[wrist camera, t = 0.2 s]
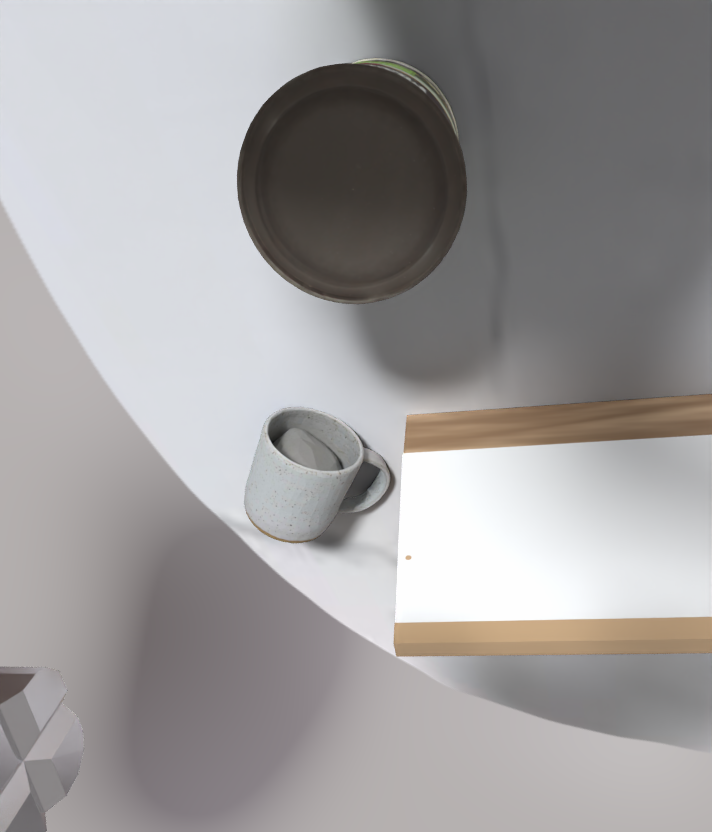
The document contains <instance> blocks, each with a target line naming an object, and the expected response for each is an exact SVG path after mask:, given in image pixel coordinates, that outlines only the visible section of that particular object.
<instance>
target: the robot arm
mask: <svg viewBox="0 0 712 832" xmlns="http://www.w3.org/2000/svg"><path fill="white" fill-rule="evenodd" d="M67 691H68V690H67V687H66V685H65V683H64V681H63V679H62V676H61V674H60V672H59V670H55V669H51V668H47V667H0V832H46V831H47V828H46V817H45V812H46V811H48V810H49V809H50V808H51V807H53V806H54V805H55V804H56V803H58V802H59V801H60V800H62V799H63V798H64V797H65V796H67V793H68V792H69V790H70V788H71V786H72V784H73V783H74V781H75V779H76V777H77V775H78V772H79V768H80V764H81V759H82V756H83V752H84V741H83V730H82V727H81V725H80V722H79V719H78V716H77V715H75V714H74V713H73V712H72V711H71V710H69V709H68V708H67V707H66V706H65V705H63V704H62V702H63V700H64V697H65V695H66V693H67Z"/></svg>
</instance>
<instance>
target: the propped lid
mask: <svg viewBox="0 0 712 832" xmlns="http://www.w3.org/2000/svg"><path fill="white" fill-rule="evenodd" d="M394 647H395V652H396V656H485V655H579V654H672V653H712V435H698V436H681V437H665V438H648V439H632V440H615V441H599V442H582V443H565V444H549V445H532V446H516V447H499V448H483V449H466V450H449V451H433V452H416V453H403V454H402V477H401V500H400V523H399V546H398V570H397V593H396V616H395V626H394Z"/></svg>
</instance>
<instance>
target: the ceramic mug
mask: <svg viewBox="0 0 712 832" xmlns="http://www.w3.org/2000/svg"><path fill="white" fill-rule="evenodd" d="M362 462H367V463H370V464H372V465H374V466H376V467H378V468H380V469H381V470H380V472H379V474H378V475H377V477H376V479H375V480H374V482H373V483H372V485H371V486H370V487H369V488H368V489H367V491H366V492H365V493H363V494H361V495H358V496H356V497H351V498H346V499H344V497H345V495H346V493H347V491H348V489H349V487H350V486H351V484H352V482H353V480H354V478H355V476H356V474H357V472H358V471H359V469H360V467H361V464H362ZM390 480H391V478H390V472H389V470H388V468H387V466H386V463H385V461H384V460H383V458H382V457H381V456H380V455H379V454H378V453H376V452H374V451H372V450H369V449H367V448H364V447H363V444H362V442H361V440H360V439H359V437H358V436H357V434H356V433H355V432H354V431H353V430H352V429H351V428H350V427H349V426H348V425H346V424H345V423H344V422H342V421H341V420H339V419H337V418H336V417H333V416H331V415H329V414H327V413H324V412H321V411H319V410H314V409H311V408H304V407H289V408H284V409H281V410H279V411H277V412H275V413H273V414H272V415H271V416H269V417H268V419H267V420H266V421H265V424H264V426H263V429H262V433H261V436H260V440H259V443H258V446H257V449H256V453H255V456H254V460H253V463H252V467H251V471H250V474H249V477H248V480H247V483H246V487H245V498H244V505H245V510H246V513H247V515H248V517H249V519H250V520H251V522H252V523H253V525H254V526H255V527H256V528H258V529H259V530H260V531H261V532H262V533H264V534H265V535H267V536H269V537H271V538H273V539H276V540H279V541H283V542H289V543H303V542H308V541H311V540H313V539H316V538H317V537H319V536H320V535H321V534H322V533H323V532H324V531H325V530H326V529H327V528H328V526H329V525H330V524H331V522H332V521H333V519H334V518H335V516H336V514H337V513H342V514H344V513H354V512H359V511H363V510H365V509H367V508H369V507H371V506H372V505H374V504H375V503H376V502H377V501H379V500H380V498H381V497H382V496H383V495H384V494H385V492H386V491H387V489H388V487H389V484H390Z"/></svg>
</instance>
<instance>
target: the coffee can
mask: <svg viewBox="0 0 712 832" xmlns="http://www.w3.org/2000/svg"><path fill="white" fill-rule="evenodd" d="M237 189H238V200H239V205H240V209H241V213H242V217H243V220H244V223H245V226H246V228H247V231H248V233H249V235H250V237H251V239H252V241H253V243H254V245H255V246H256V248H257V249H258V251H259V252H260V254H261V255H262V257H263V258H264V259H265V260H266V262H267V263H268V264H269V265H270V266H271V267H272V268H273V269H274V270H275V271H276V272H277V273H278V274H279V275H280V276H281V277H283V278H284V279H285V280H286V281H288V282H289V283H291V284H292V285H294V286H295V287H297V288H298V289H300V290H302V291H304V292H306V293H308V294H310V295H313V296H315V297H318V298H321V299H324V300H328V301H333V302H338V303H346V304H365V303H373V302H377V301H382V300H385V299H389V298H392V297H394V296H397V295H399V294H401V293H403V292H405V291H407V290H409V289H411V288H412V287H414V286H415V285H417V284H418V283H419V282H421V281H422V280H423V279H424V278H426V277H427V276H428V275H429V274H430V273H431V272H432V271H433V270H434V269H435V268H436V267H437V266H438V265H439V263H440V262H441V261H442V259H443V258H444V257H445V255H446V254H447V253H448V251H449V249H450V248H451V246H452V244H453V242H454V240H455V238H456V236H457V233H458V231H459V229H460V225H461V222H462V219H463V215H464V211H465V205H466V196H467V181H466V170H465V162H464V158H463V153H462V150H461V147H460V144H459V138H458V130H457V125H456V121H455V118H454V115H453V112H452V109H451V107H450V105H449V103H448V101H447V99H446V98H445V96H444V95H443V93H442V92H441V91H440V89H439V88H438V87H437V85H436V84H435V83H434V82H433V81H432V80H431V79H430V78H429V77H427V76H426V75H425V74H424V73H422V72H421V71H419V70H418V69H416V68H414V67H412V66H410V65H408V64H405V63H402V62H399V61H395V60H390V59H382V58H371V59H364V60H359V61H356V62H353V63H345V64H334V65H328V66H323V67H319V68H316V69H313V70H310V71H308V72H306V73H304V74H301V75H299V76H297V77H295V78H293V79H292V80H290V81H289V82H287V83H286V84H285V85H283V86H282V87H281V88H280V89H279V90H277V91H276V92H275V93H274V94H273V95H272V96H271V97H270V98H269V99H268V100H267V101H266V102H265V103H264V104H263V105H262V107H261V108H260V110H259V111H258V113H257V114H256V116H255V117H254V119H253V121H252V122H251V124H250V127H249V129H248V131H247V133H246V136H245V139H244V142H243V144H242V148H241V151H240V156H239V161H238V170H237Z"/></svg>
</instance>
